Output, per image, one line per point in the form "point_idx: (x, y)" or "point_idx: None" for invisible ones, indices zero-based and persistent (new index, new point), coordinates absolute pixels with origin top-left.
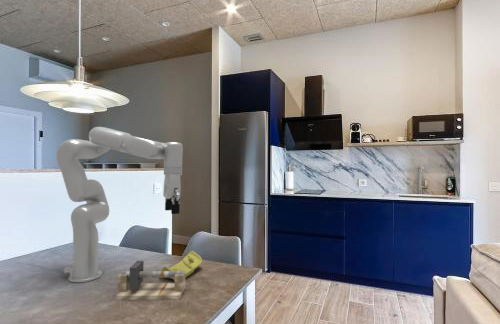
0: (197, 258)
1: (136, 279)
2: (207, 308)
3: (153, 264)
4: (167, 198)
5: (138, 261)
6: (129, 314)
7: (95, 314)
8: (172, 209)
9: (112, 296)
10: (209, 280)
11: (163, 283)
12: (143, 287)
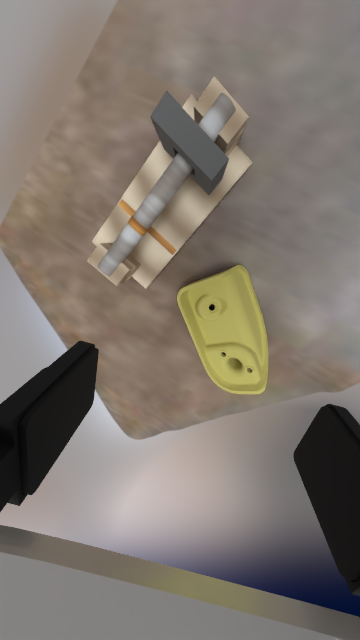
0: (234, 384)
1: (161, 139)
2: (31, 263)
3: (350, 303)
4: (108, 554)
5: (217, 158)
6: (91, 104)
7: (142, 14)
8: (51, 370)
9: None
10: (144, 343)
11: (178, 246)
12: (190, 189)
